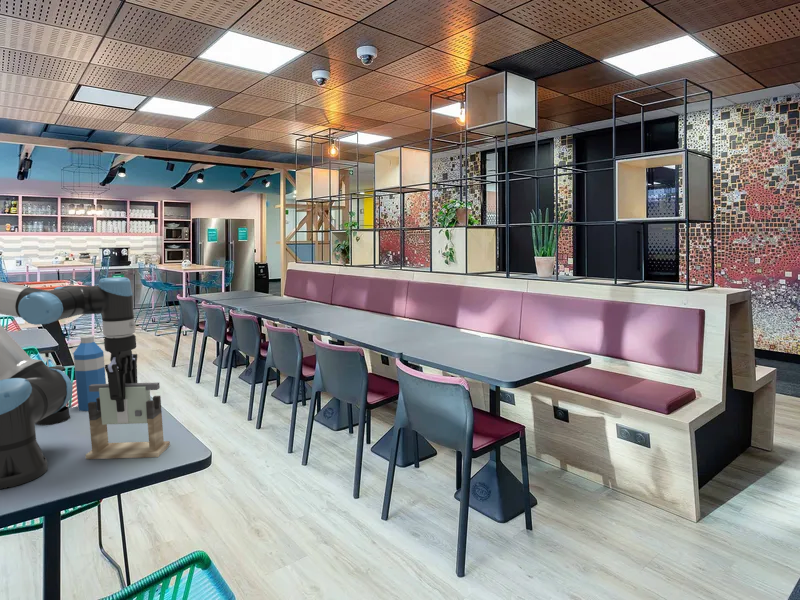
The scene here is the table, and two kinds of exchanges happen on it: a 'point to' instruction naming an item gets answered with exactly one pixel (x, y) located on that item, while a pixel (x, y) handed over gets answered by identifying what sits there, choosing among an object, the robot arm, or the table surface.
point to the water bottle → (88, 370)
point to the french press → (63, 412)
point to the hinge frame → (127, 449)
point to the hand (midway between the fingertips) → (126, 419)
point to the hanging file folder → (135, 397)
